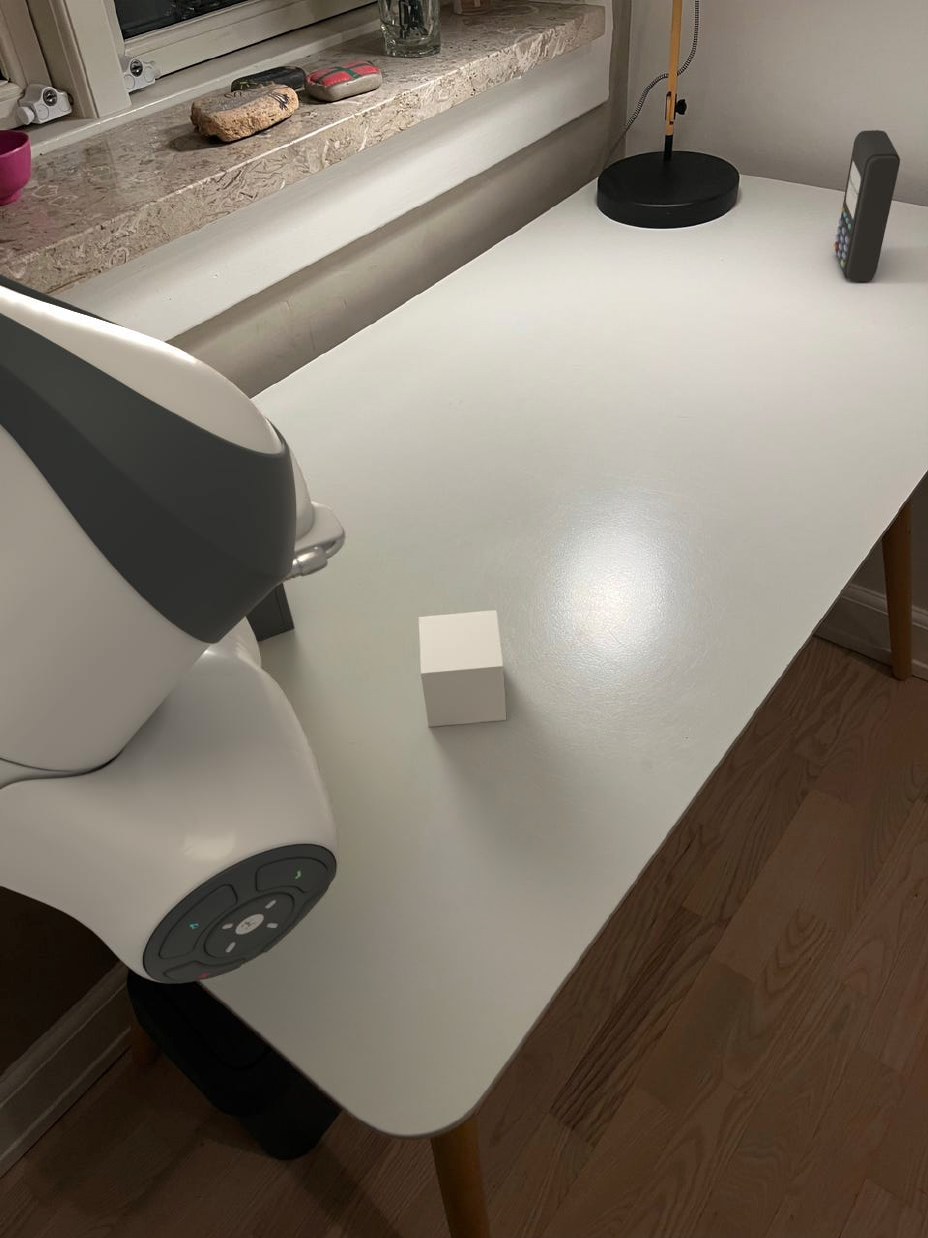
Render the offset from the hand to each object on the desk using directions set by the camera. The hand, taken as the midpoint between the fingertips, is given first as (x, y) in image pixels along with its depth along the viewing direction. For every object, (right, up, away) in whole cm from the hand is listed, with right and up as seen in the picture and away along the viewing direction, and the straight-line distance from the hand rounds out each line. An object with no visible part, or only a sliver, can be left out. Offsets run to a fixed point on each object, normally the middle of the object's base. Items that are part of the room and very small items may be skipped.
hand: (75, 472), depth 54 cm
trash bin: (-3, -7, +37) cm, 38 cm away
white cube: (+20, -14, +27) cm, 37 cm away
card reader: (+69, +36, +75) cm, 108 cm away
